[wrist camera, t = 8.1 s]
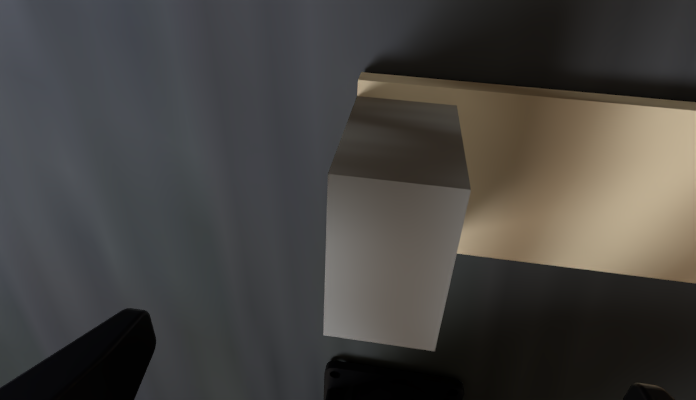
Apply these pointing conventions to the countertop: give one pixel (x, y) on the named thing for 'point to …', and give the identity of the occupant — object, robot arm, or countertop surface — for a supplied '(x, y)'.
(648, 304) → the countertop surface
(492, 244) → the beige rectangular bar
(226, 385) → the countertop surface
